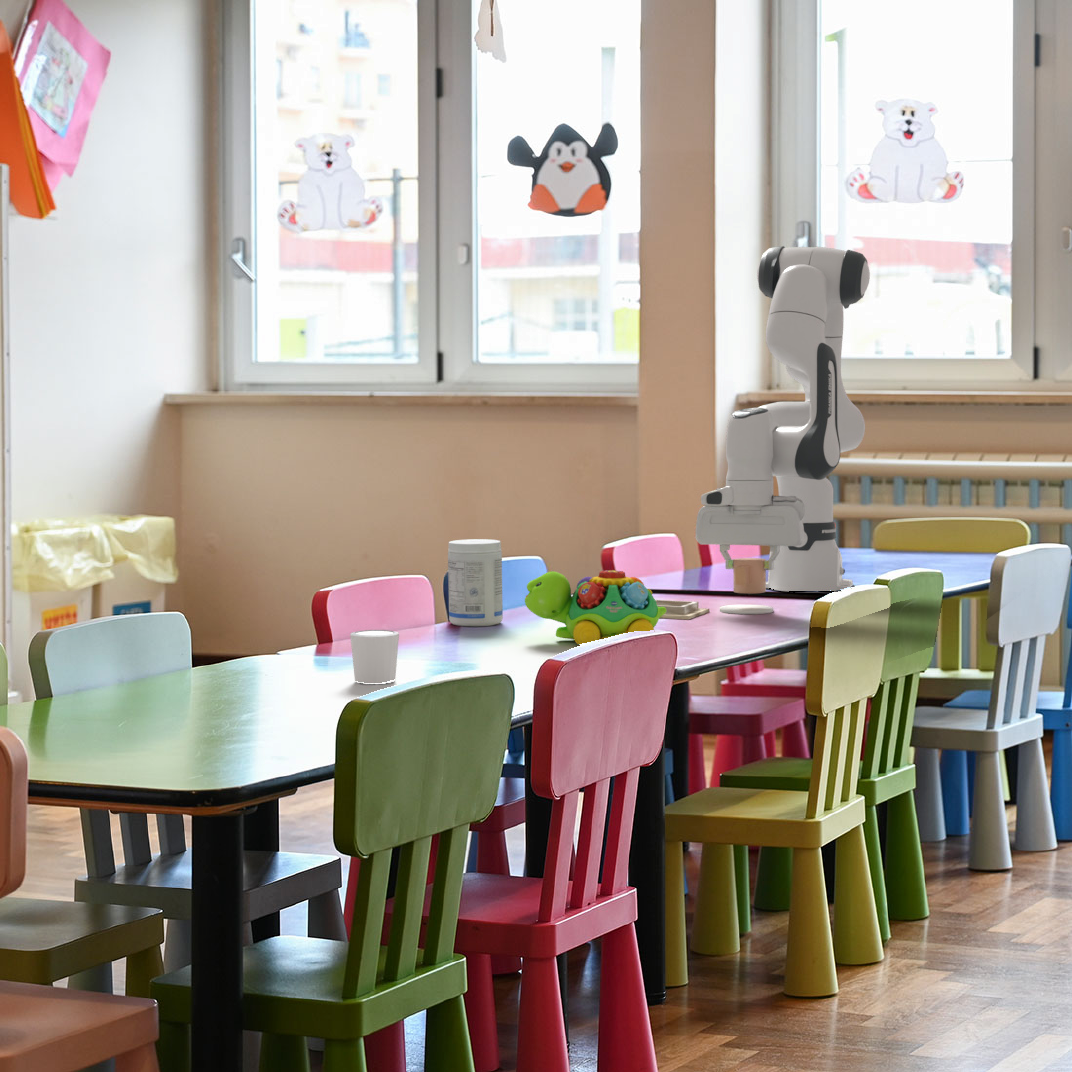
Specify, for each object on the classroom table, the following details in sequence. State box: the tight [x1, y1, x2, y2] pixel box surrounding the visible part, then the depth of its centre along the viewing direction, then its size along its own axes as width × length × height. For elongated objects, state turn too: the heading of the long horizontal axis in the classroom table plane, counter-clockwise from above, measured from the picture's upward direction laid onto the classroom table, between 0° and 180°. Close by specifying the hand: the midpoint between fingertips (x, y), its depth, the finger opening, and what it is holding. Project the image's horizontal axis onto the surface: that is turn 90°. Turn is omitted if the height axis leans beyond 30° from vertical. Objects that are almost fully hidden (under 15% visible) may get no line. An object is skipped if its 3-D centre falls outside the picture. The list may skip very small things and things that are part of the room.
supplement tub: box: [447, 538, 504, 627], centre depth 304 cm, size 10×10×15 cm
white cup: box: [349, 629, 400, 683], centre depth 242 cm, size 7×7×7 cm
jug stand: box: [655, 599, 710, 620], centre depth 318 cm, size 12×12×2 cm
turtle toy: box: [524, 569, 666, 645], centre depth 282 cm, size 17×23×12 cm
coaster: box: [719, 604, 775, 615], centre depth 322 cm, size 10×10×1 cm
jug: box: [732, 557, 767, 594], centre depth 319 cm, size 6×10×6 cm, turn 158°
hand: (749, 569), depth 321 cm, fingers closed on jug, 6 cm apart
